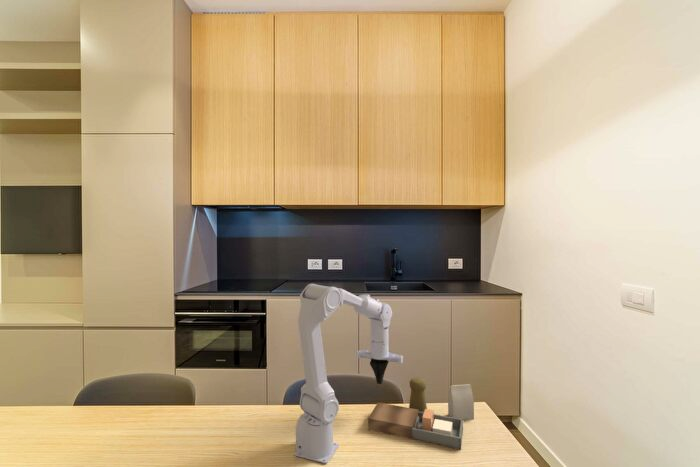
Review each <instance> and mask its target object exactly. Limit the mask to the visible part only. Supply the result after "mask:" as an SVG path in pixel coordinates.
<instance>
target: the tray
mask: <svg viewBox="0 0 700 467" xmlns="http://www.w3.org/2000/svg"><path fill="white" fill-rule="evenodd" d="M423 414H424V412H420V411H418V418H417V420H416V423H415V426H414V428H412V439H411V440H413V441H417V442H418V441H419V442H423V443H427V444H433V445H435V446H436V445H438V446H442V447H446V448H451V449H456V450H460V451H461V450H462V445H463V444H462V442H463V436H464V434H463V432H464V420H463V419H458V418H453V417H450V416H447V415H443V414H442V415H441V414H435V413H434V420H435V419H438V420H443V421H449V422H453V431H452V436H451V435H446V434H441V433H436V432H431V431H426V430H423V427H422V417H423Z"/></svg>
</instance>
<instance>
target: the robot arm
mask: <svg viewBox="0 0 700 467" xmlns="http://www.w3.org/2000/svg"><path fill="white" fill-rule="evenodd" d="M299 299H300V310H299V313H298V318H297V323H298V324H297V325H298V332H299V338H300V339H299V340H300V345H301V346H300V347H301V353H302V360H303V369H304V376H305V383H304V384H303V385H302V386H301V388H300V393H301V394H300V398H299V407H300V409H301V411H303V413H302V414H300V415H299V417H298V419H297V422H296V426H295V452H294V453H293V454H294V456H295V457H299V458H303V459H307V460H310V461H314V462H318V463H322V464H328V463H329V461H330V459H332V457H333V455H334V454H335V453H336V451H337V449H339V446H340V444H339V443H337V442H334V427H333V426H334V421H335V419H336V417H337V415H338V412H339V410H340V403H339V401H338V399H337V397H336V394H335V390H334V389H333V387H332V386H331V385H330V383H329V382H328V377H327V371H326V370H327V368H326V361H325V360H326V359H325V353H324V345H323V337H322V328H321V324H322V323H323V322H325V321H326V320H327V319H329V317H330V316H331V315H332V314H333V313H335V311H336V310H337V309H338V308H339V307H340V306H343V304H344V305H347V306H350V307H352V308H353V310H354V311H355V312H356V314H359V315H362V316H365V317H366V318H368V319H370V323H369V325H370V330H369V331H370V350H366V349H365V350H363V349H362V350H361V349H360V350H358V351H357V352H356V353H357V355H356V358H357V359H361V358H362V359H368V360H370V361H369V366H370V367H371V369H372V372H373V373H374V377H375V380H376V384H379V385H382V383H383V382H384V375H385V372H386V369H387V367H388V365H389V363H390V362H393V363H398V364H403V362H404V356H403V355H402V354H397V353H392V352H389V350H390V348H389V345H390V344H389V342H390V341H389V337H390V336H389V327H390V325H391V320H392V317H393V310H392V308H391V306H390V304H388V303H386V302H380V299H378V298H372V297H371V294H368V293H363V294H359V295H358V296H357V295H356V294H354V293H352V292H349V291H347V290H346V289H343V288H338V287H336V286H326V285H320V284H316V283H309V284H307V285H306V286H305V287H304V289H303V290H302V291H301V293H300V295H299Z"/></svg>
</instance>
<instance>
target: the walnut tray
mask: <svg viewBox="0 0 700 467" xmlns="http://www.w3.org/2000/svg"><path fill="white" fill-rule="evenodd" d="M418 411H419V410H418V409H412V408H409V407H405V406H400V405H395V404H388V403H384V402H377V403H376V405H375V406H374V407H373V410H372V411H371V413H370V414H369V416H368V418H367V426H368V427H367V428H368V429H367V430H368V431H372V432H374V433H375V432H376V433H381V434H385V435H390V436H394V437H399V438H404V439H408V440H413V439H412V428H414V426H415V423H416V420H417V418H418Z"/></svg>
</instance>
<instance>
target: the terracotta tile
mask: <svg viewBox="0 0 700 467" xmlns="http://www.w3.org/2000/svg"><path fill="white" fill-rule="evenodd" d="M434 410H435V409H434ZM434 410H433V409H429V408H427V409H425V411H424V414H423V417H422V427H423V430H426V431H431V432H433V424H434V414H435V411H434Z"/></svg>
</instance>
